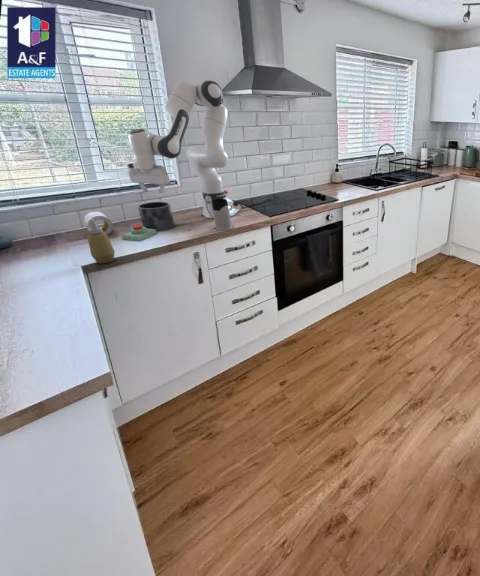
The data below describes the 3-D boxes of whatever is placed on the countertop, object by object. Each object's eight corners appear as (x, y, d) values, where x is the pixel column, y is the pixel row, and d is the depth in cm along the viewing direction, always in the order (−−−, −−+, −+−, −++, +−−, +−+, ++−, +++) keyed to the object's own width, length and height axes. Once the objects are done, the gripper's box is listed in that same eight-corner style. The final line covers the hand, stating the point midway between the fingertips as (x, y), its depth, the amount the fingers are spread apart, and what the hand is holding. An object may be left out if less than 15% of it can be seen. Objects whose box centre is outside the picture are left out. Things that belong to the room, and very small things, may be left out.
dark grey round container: (156, 222, 205) (151, 200, 200) (180, 224, 203) (175, 202, 198) (136, 230, 192) (130, 207, 187) (162, 232, 190) (156, 209, 185)
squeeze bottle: (92, 266, 151) (77, 223, 143) (95, 259, 157) (81, 218, 149) (116, 263, 154) (102, 221, 146) (118, 256, 161) (105, 216, 153)
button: (137, 227, 185) (136, 224, 184) (144, 228, 184) (143, 225, 183) (132, 230, 182) (131, 226, 181) (138, 230, 181) (137, 227, 180)
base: (141, 231, 190) (138, 224, 189) (156, 233, 189) (154, 225, 187) (122, 239, 180) (120, 231, 178) (138, 240, 179) (136, 232, 177)
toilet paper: (115, 233, 187) (109, 214, 182) (91, 237, 180) (84, 217, 176) (111, 228, 193) (105, 210, 188) (87, 232, 186) (80, 213, 182)
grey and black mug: (224, 231, 196) (219, 203, 189) (204, 227, 200) (198, 199, 194) (236, 226, 203) (231, 199, 196) (216, 223, 208) (211, 196, 201)
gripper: (169, 164, 186) (175, 191, 193) (133, 162, 189) (140, 189, 195) (160, 166, 181) (167, 194, 187) (123, 164, 183) (131, 192, 190)
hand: (153, 192), depth 191 cm, fingers open, 8 cm apart
